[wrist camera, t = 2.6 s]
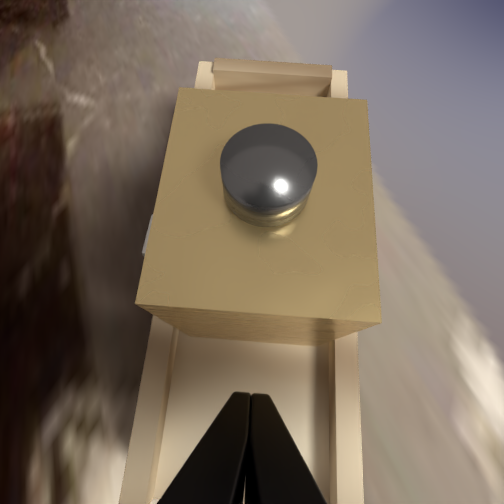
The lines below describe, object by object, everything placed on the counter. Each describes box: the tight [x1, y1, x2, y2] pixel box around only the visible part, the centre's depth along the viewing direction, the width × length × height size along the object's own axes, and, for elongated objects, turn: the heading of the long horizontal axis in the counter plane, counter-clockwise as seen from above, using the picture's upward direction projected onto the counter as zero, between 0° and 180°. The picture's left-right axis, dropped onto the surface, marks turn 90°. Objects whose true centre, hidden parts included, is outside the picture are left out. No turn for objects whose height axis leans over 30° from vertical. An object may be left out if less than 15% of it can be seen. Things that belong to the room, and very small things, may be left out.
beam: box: [119, 58, 364, 504], centre depth 17 cm, size 23×10×3 cm, turn 176°
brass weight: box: [135, 87, 382, 347], centre depth 12 cm, size 7×6×9 cm
